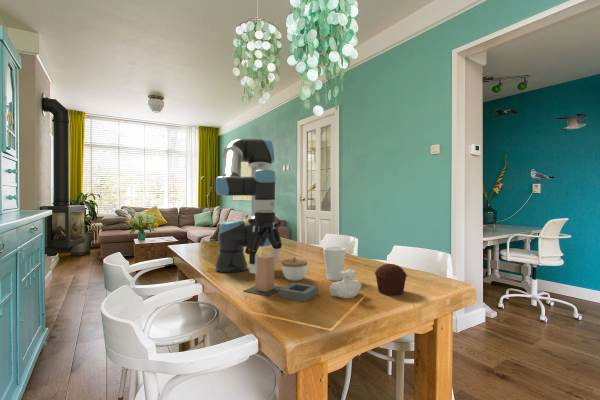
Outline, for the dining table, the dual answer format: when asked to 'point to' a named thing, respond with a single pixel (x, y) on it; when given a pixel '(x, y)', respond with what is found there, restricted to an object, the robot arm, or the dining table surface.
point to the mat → (268, 293)
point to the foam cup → (334, 262)
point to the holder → (299, 291)
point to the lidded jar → (294, 269)
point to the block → (264, 273)
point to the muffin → (390, 279)
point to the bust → (346, 285)
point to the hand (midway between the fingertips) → (264, 269)
